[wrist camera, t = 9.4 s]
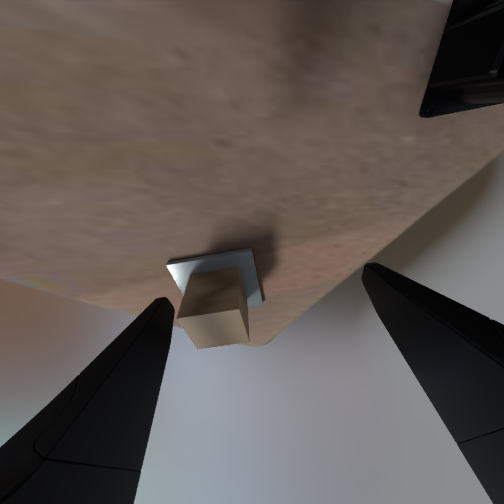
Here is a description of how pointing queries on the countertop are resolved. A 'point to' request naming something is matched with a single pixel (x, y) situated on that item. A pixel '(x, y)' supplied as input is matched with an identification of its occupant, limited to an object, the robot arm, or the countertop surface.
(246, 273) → the coaster
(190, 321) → the beige cube
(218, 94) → the countertop surface
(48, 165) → the countertop surface
